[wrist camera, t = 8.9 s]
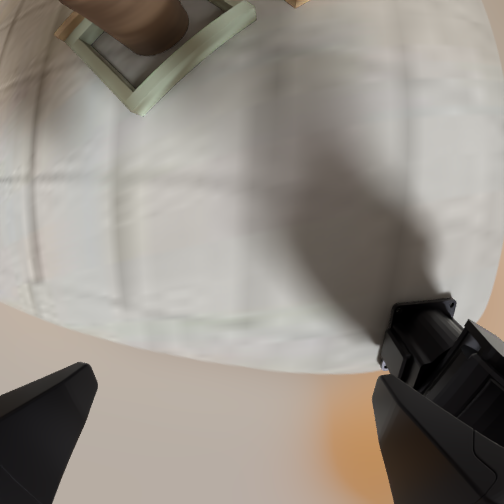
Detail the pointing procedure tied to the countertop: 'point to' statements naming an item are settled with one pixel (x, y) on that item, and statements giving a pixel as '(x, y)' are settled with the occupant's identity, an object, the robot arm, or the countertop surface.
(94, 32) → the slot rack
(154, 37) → the pepper mill
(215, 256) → the countertop surface
